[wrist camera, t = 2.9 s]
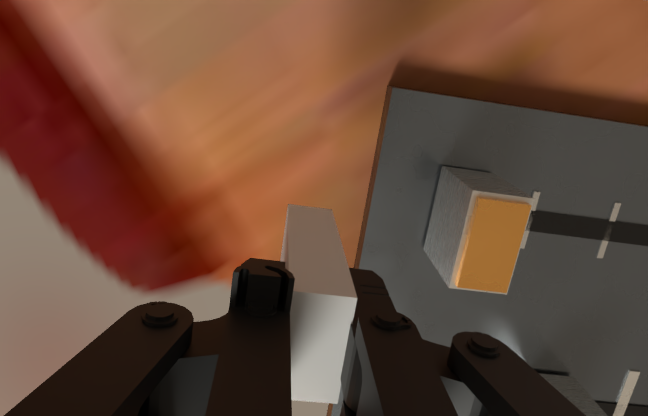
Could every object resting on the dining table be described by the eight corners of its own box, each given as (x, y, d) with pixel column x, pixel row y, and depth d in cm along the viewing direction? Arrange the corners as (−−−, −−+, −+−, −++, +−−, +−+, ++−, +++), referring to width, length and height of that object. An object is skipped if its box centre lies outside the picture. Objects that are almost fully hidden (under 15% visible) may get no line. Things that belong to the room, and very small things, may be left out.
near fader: (442, 166, 22) (475, 192, 18) (493, 173, 23) (538, 200, 19) (423, 249, 24) (451, 291, 19) (472, 255, 24) (510, 298, 20)
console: (387, 85, 23) (402, 91, 20) (823, 153, 25) (897, 167, 22) (320, 447, 28) (324, 495, 25) (678, 475, 31) (721, 522, 28)
